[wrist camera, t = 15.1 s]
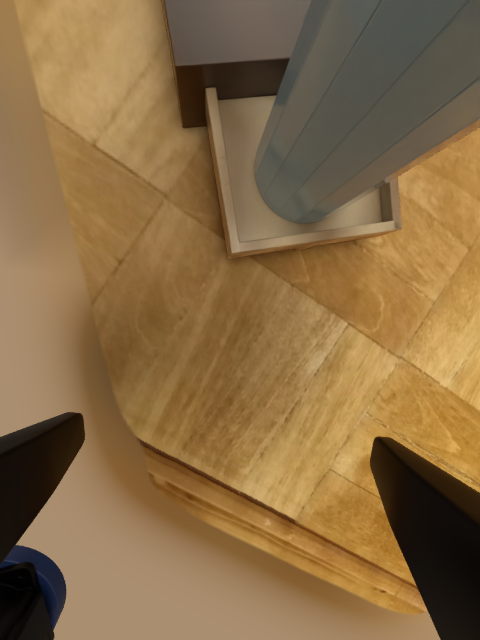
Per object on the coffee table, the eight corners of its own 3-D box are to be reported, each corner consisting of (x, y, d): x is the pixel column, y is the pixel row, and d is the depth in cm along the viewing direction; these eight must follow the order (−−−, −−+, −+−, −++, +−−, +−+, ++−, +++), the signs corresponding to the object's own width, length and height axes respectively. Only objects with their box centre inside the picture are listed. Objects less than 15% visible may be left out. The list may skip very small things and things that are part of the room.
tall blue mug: (301, 245, 17) (581, 110, 4) (232, 166, 16) (335, -311, 3) (400, 147, 17) (944, -256, 5) (338, 62, 16) (817, -764, 4)
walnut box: (205, 263, 19) (206, 253, 14) (156, -25, 17) (136, -156, 12) (387, 237, 21) (444, 219, 16) (363, -31, 18) (422, -149, 13)
